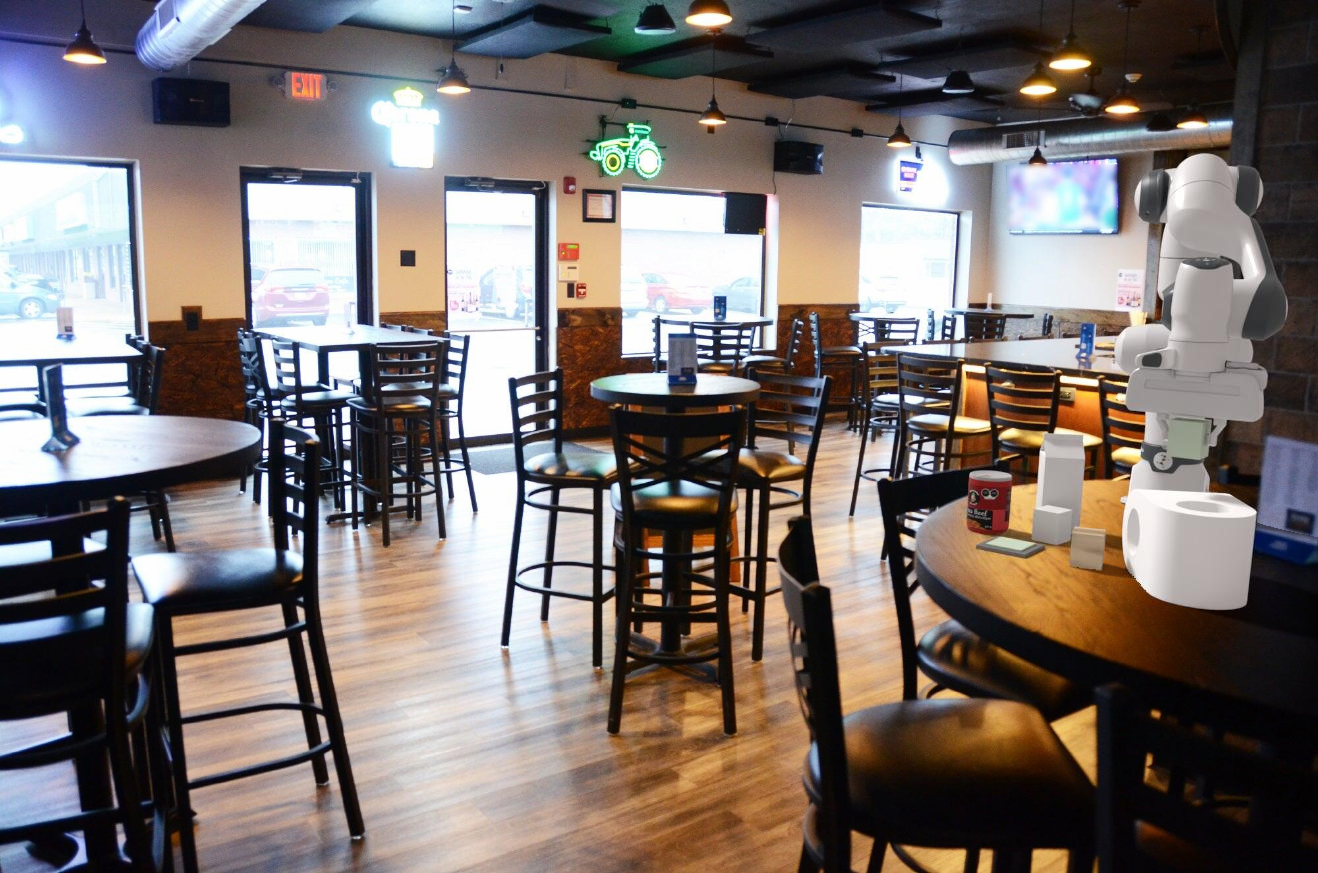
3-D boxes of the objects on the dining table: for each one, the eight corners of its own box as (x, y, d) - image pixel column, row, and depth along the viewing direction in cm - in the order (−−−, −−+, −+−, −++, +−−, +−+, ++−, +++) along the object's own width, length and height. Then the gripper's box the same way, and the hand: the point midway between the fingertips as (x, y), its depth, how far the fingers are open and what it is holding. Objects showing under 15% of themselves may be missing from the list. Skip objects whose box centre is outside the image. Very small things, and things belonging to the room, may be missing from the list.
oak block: (1072, 559, 183) (1074, 526, 182) (1103, 563, 181) (1105, 529, 180) (1069, 566, 179) (1072, 532, 178) (1100, 570, 177) (1103, 536, 176)
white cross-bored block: (1261, 613, 156) (1207, 566, 180) (1271, 520, 154) (1215, 485, 178) (1158, 606, 158) (1119, 561, 183) (1167, 514, 156) (1126, 481, 180)
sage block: (1175, 452, 175) (1178, 416, 174) (1208, 456, 172) (1211, 420, 171) (1166, 455, 171) (1169, 419, 170) (1199, 459, 168) (1203, 423, 167)
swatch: (997, 539, 196) (997, 534, 196) (1044, 548, 190) (1044, 543, 190) (976, 548, 189) (976, 543, 189) (1024, 557, 184) (1024, 553, 183)
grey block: (1045, 535, 199) (1047, 505, 198) (1070, 541, 196) (1072, 509, 195) (1031, 539, 196) (1033, 508, 195) (1056, 545, 192) (1058, 513, 191)
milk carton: (1079, 536, 199) (1086, 437, 196) (1039, 533, 200) (1047, 436, 197) (1072, 527, 206) (1079, 432, 203) (1034, 524, 207) (1041, 430, 204)
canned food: (957, 526, 205) (961, 471, 203) (990, 523, 208) (993, 469, 206) (984, 536, 198) (987, 479, 196) (1017, 532, 201) (1021, 476, 199)
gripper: (1273, 362, 165) (1264, 448, 167) (1138, 353, 178) (1131, 433, 180) (1264, 364, 160) (1254, 453, 162) (1125, 355, 173) (1118, 438, 176)
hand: (1188, 443), depth 171 cm, fingers closed on sage block, 5 cm apart
